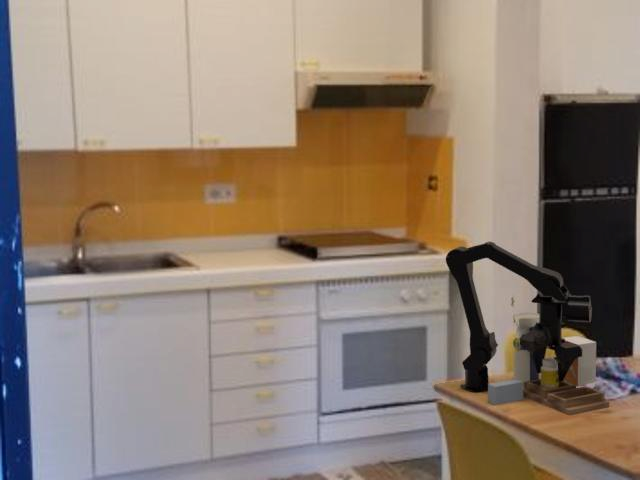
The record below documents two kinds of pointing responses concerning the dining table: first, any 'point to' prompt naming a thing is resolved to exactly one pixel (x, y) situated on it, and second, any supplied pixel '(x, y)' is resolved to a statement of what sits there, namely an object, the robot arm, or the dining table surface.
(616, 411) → the dining table surface
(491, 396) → the blue-gray rectangular block
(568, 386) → the jig
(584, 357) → the small box
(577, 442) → the dining table surface
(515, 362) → the water bottle
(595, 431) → the dining table surface
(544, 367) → the supplement bottle
